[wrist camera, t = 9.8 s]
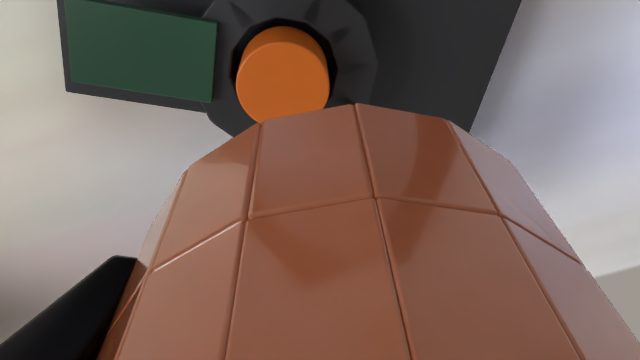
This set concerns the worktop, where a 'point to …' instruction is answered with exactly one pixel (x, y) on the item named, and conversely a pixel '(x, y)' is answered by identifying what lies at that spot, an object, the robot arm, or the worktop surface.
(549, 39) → the worktop surface
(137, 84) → the scale pan
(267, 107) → the button
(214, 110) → the scale
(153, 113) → the worktop surface
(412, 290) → the bowl
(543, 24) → the worktop surface
